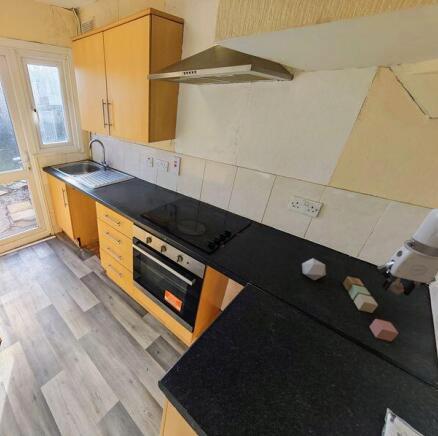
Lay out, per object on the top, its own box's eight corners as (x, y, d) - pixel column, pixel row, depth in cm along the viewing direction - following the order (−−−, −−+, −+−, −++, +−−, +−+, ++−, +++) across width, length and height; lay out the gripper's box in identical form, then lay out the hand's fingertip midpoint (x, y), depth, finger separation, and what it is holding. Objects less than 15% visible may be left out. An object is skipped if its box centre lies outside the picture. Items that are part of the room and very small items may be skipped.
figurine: (395, 288, 80) (405, 275, 77) (405, 297, 76) (416, 284, 73) (378, 285, 81) (387, 272, 78) (387, 294, 77) (397, 281, 74)
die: (325, 280, 104) (323, 258, 105) (327, 282, 96) (325, 258, 98) (303, 278, 109) (301, 257, 110) (303, 280, 101) (301, 257, 103)
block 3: (366, 304, 91) (372, 296, 89) (372, 313, 88) (378, 305, 85) (353, 301, 92) (358, 293, 90) (358, 309, 89) (364, 301, 87)
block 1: (354, 286, 100) (359, 278, 98) (358, 293, 97) (364, 285, 95) (342, 283, 101) (347, 276, 99) (346, 290, 98) (351, 282, 96)
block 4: (383, 330, 81) (390, 322, 79) (391, 341, 77) (398, 333, 75) (369, 326, 82) (375, 318, 80) (375, 337, 78) (382, 329, 76)
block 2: (360, 295, 96) (365, 287, 94) (365, 302, 92) (370, 294, 90) (347, 292, 97) (352, 284, 95) (352, 299, 93) (357, 291, 91)
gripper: (399, 247, 69) (368, 291, 77) (473, 261, 64) (432, 305, 73) (385, 235, 75) (358, 276, 83) (451, 246, 70) (416, 289, 79)
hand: (393, 289), depth 78 cm, fingers closed on figurine, 5 cm apart
